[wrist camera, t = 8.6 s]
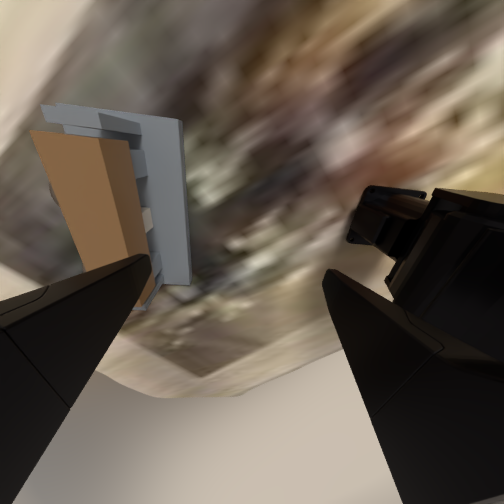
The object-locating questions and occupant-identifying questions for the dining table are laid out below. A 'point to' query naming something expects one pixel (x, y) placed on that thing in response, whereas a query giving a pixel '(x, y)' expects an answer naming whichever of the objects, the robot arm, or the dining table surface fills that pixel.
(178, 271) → the display cradle
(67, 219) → the brown rectangular block
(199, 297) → the dining table surface
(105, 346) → the robot arm
